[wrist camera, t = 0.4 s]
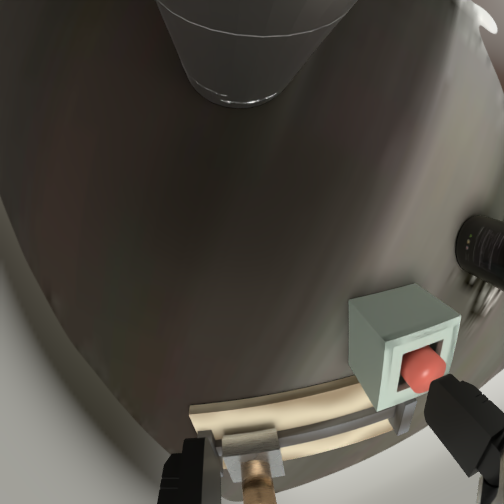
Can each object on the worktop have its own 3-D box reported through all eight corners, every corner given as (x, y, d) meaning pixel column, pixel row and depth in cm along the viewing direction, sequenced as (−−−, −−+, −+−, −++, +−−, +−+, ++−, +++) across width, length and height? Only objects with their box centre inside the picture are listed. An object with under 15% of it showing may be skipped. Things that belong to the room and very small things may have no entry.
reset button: (393, 342, 23) (415, 367, 19) (425, 331, 23) (449, 353, 20) (389, 372, 24) (408, 398, 20) (420, 361, 24) (441, 384, 21)
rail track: (189, 405, 30) (186, 435, 26) (407, 358, 31) (426, 380, 27) (214, 461, 33) (214, 488, 29) (395, 420, 34) (408, 442, 30)
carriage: (221, 431, 29) (223, 503, 20) (275, 424, 29) (290, 495, 20) (232, 459, 31) (236, 523, 21) (280, 452, 31) (293, 515, 22)
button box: (348, 299, 28) (385, 342, 20) (415, 283, 28) (461, 315, 21) (348, 367, 30) (376, 415, 23) (408, 348, 31) (444, 387, 23)
